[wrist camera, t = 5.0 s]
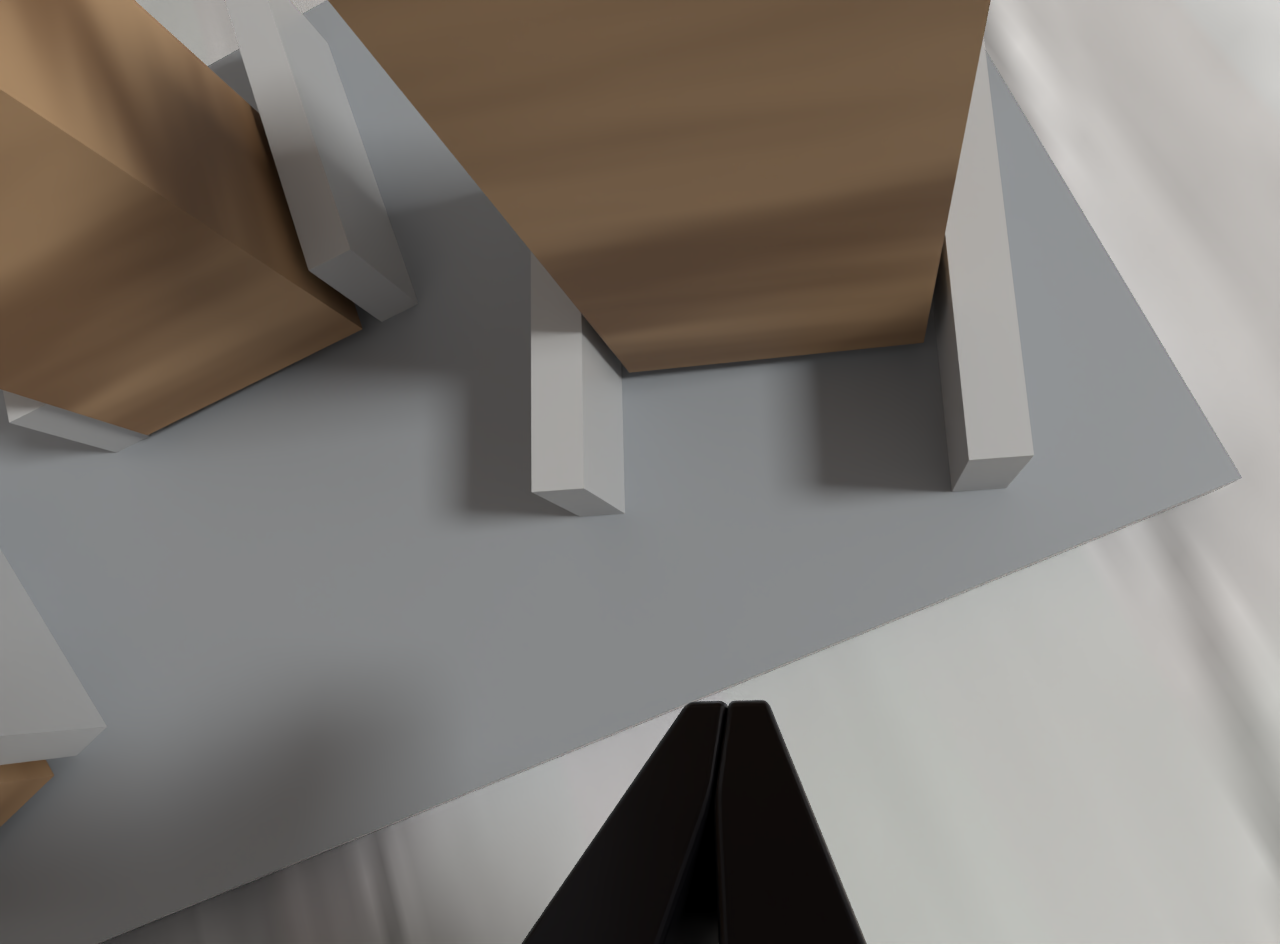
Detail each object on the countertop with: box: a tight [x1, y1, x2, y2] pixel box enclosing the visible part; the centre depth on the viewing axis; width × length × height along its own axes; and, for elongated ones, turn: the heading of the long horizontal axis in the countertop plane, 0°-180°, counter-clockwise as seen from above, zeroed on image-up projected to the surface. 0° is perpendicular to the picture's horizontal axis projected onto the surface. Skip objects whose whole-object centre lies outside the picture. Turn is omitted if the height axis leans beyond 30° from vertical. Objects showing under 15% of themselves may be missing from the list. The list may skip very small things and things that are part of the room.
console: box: [0, 0, 1242, 944], centre depth 21 cm, size 20×36×4 cm, turn 111°
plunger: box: [328, 0, 990, 373], centre depth 13 cm, size 5×6×14 cm
